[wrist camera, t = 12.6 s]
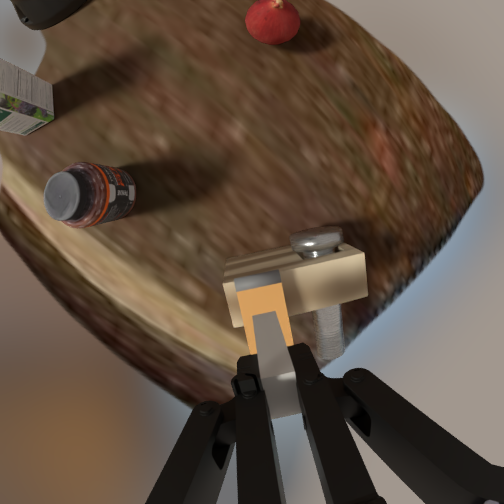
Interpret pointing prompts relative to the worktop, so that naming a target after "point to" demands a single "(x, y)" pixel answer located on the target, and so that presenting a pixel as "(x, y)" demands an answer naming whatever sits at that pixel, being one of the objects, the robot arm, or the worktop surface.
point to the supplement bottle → (89, 194)
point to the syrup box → (23, 100)
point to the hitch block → (302, 277)
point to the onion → (272, 21)
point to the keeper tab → (262, 303)
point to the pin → (329, 317)
